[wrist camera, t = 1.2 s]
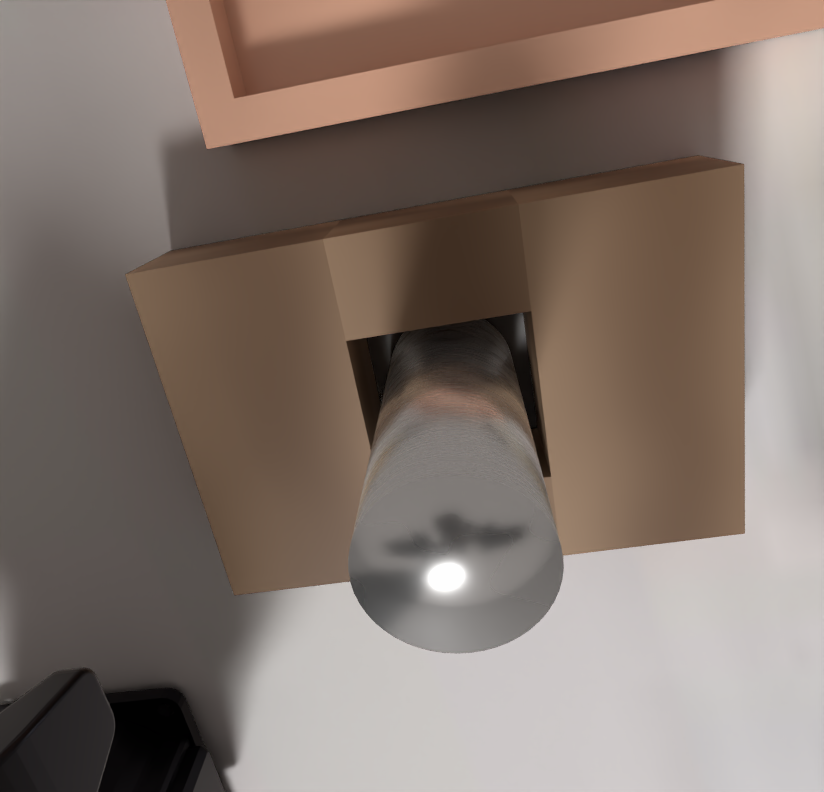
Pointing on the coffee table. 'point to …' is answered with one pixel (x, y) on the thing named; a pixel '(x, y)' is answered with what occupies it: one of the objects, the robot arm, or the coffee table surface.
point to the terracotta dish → (431, 51)
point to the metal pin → (454, 499)
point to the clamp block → (454, 303)
